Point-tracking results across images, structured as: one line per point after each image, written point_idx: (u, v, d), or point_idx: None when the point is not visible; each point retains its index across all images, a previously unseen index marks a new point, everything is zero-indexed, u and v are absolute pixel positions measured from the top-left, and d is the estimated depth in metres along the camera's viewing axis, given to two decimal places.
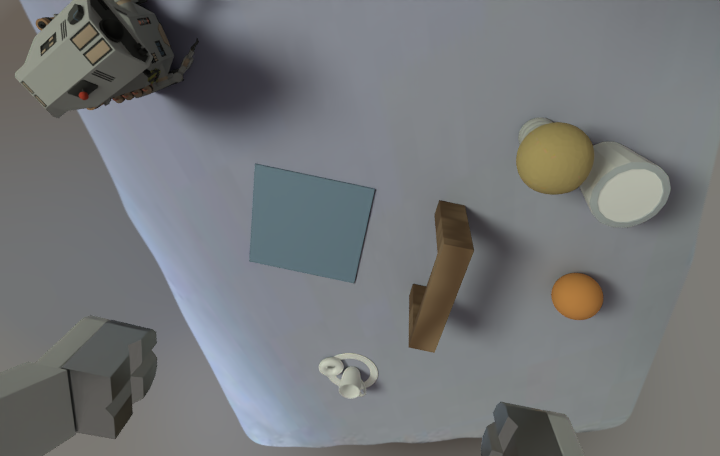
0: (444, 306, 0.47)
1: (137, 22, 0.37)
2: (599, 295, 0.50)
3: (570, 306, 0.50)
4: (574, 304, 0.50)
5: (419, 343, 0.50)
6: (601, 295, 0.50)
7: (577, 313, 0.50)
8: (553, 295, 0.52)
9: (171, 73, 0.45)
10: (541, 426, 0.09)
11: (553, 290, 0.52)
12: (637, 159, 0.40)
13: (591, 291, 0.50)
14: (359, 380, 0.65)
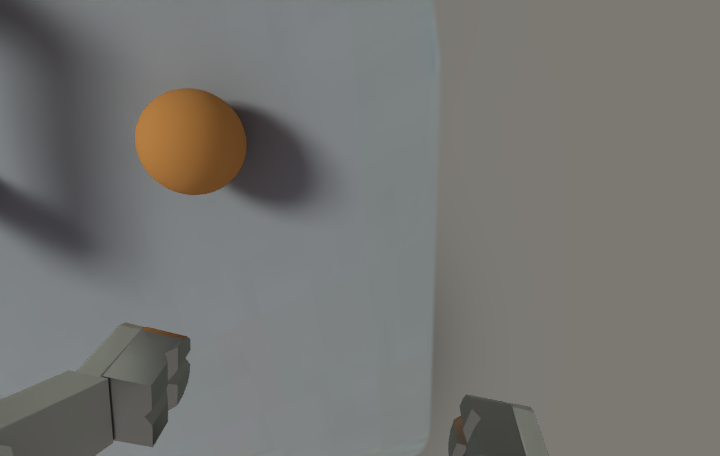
0: None
1: None
2: (205, 121, 0.21)
3: (142, 149, 0.21)
4: (146, 140, 0.21)
5: None
6: (217, 123, 0.21)
7: (158, 164, 0.21)
8: None
9: None
10: (504, 418, 0.09)
11: None
12: None
13: (184, 107, 0.21)
14: None
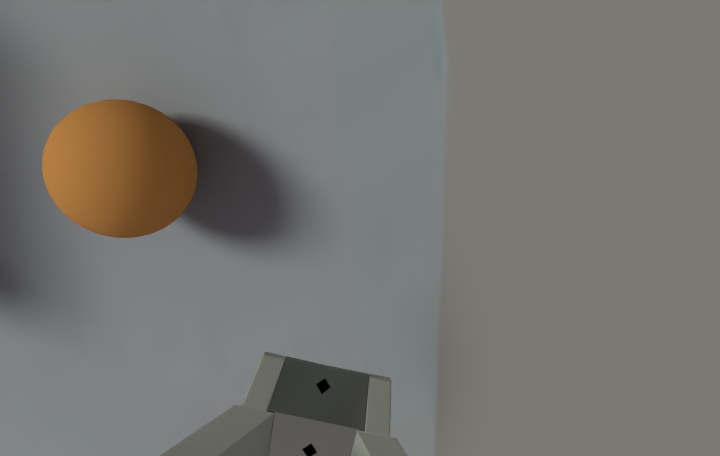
0: None
1: None
2: (133, 145, 0.16)
3: (49, 182, 0.16)
4: (52, 172, 0.16)
5: None
6: (149, 147, 0.16)
7: (70, 203, 0.16)
8: None
9: None
10: (356, 388, 0.09)
11: None
12: None
13: (103, 127, 0.15)
14: None
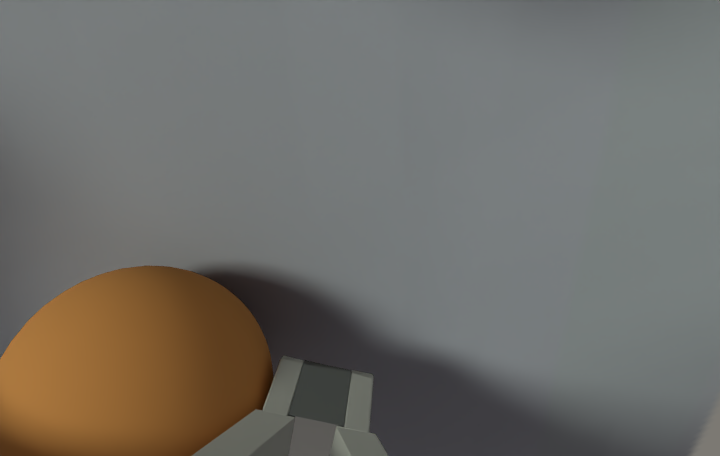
0: None
1: None
2: (124, 425, 0.07)
3: None
4: None
5: None
6: (160, 428, 0.07)
7: None
8: None
9: None
10: (337, 384, 0.09)
11: None
12: None
13: (80, 374, 0.07)
14: None
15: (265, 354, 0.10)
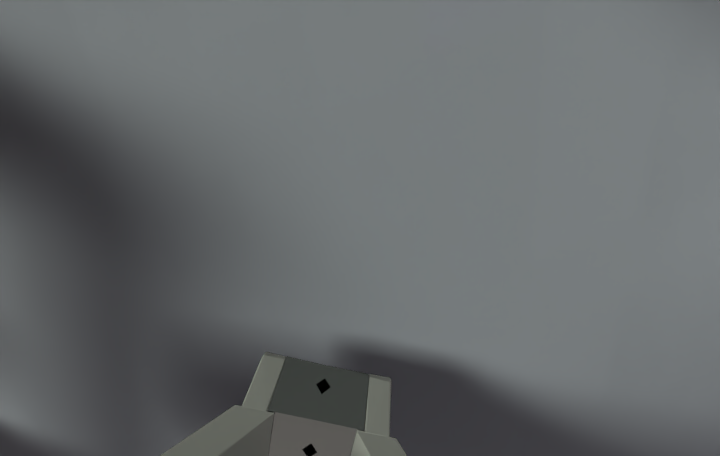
0: None
1: None
2: None
3: None
4: None
5: None
6: None
7: None
8: None
9: None
10: (356, 387, 0.09)
11: None
12: None
13: None
14: None
15: None
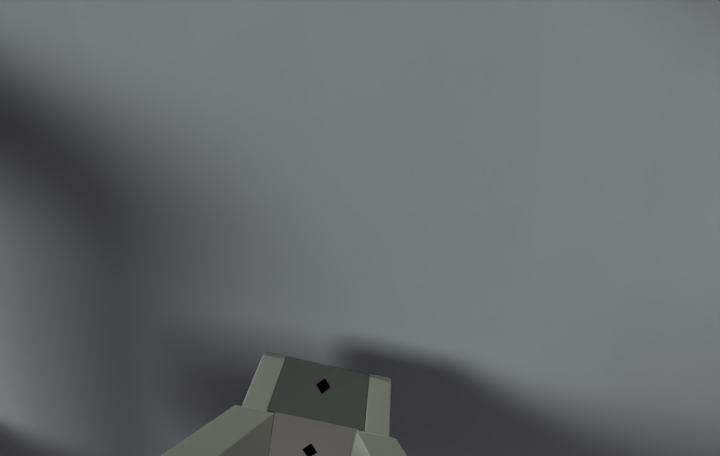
0: None
1: None
2: None
3: None
4: None
5: None
6: None
7: None
8: None
9: None
10: (356, 387, 0.09)
11: None
12: None
13: None
14: None
15: None
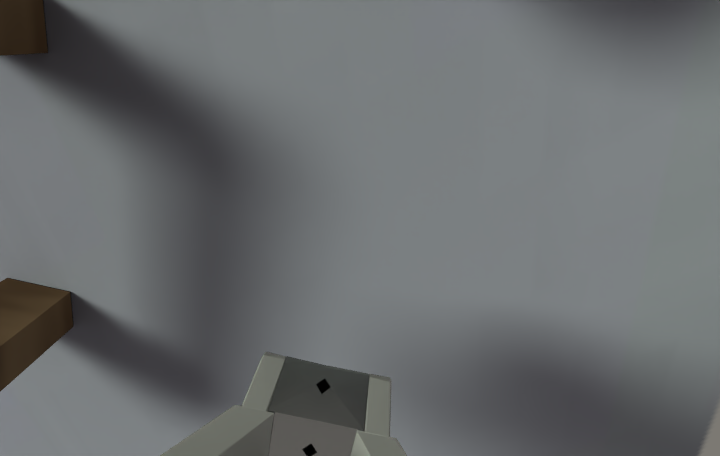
0: None
1: None
2: None
3: None
4: None
5: None
6: None
7: None
8: None
9: None
10: (356, 387, 0.09)
11: None
12: None
13: None
14: None
15: None
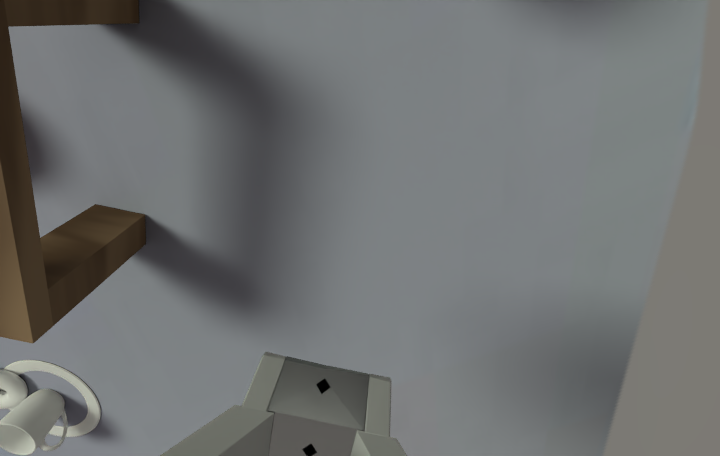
0: None
1: None
2: None
3: None
4: None
5: None
6: None
7: None
8: None
9: None
10: (356, 388, 0.09)
11: None
12: None
13: None
14: (44, 416, 0.32)
15: None
